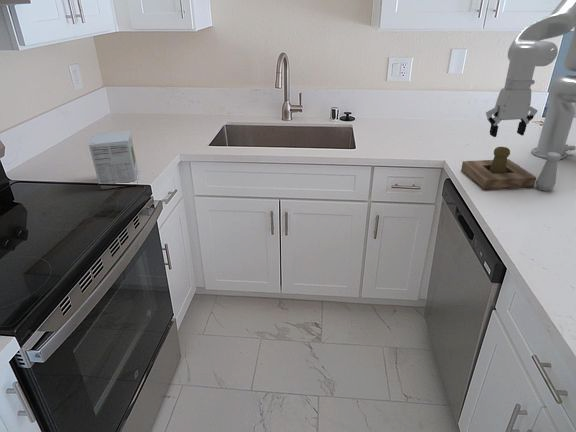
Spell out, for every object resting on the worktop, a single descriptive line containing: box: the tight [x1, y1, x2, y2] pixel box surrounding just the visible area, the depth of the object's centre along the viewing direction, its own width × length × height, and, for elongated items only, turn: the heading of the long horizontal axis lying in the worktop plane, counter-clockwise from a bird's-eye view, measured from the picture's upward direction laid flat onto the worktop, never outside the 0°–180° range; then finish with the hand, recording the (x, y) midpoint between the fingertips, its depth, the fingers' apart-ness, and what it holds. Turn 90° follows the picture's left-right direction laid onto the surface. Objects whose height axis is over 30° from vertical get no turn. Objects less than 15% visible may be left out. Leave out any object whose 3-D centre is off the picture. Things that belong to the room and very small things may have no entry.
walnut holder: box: [460, 158, 538, 192], centre depth 151 cm, size 18×18×4 cm
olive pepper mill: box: [489, 146, 511, 174], centre depth 149 cm, size 6×6×11 cm
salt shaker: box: [535, 152, 562, 192], centre depth 141 cm, size 6×6×13 cm
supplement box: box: [88, 130, 139, 185], centre depth 154 cm, size 13×13×18 cm
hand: (506, 135), depth 145 cm, fingers open, 9 cm apart
